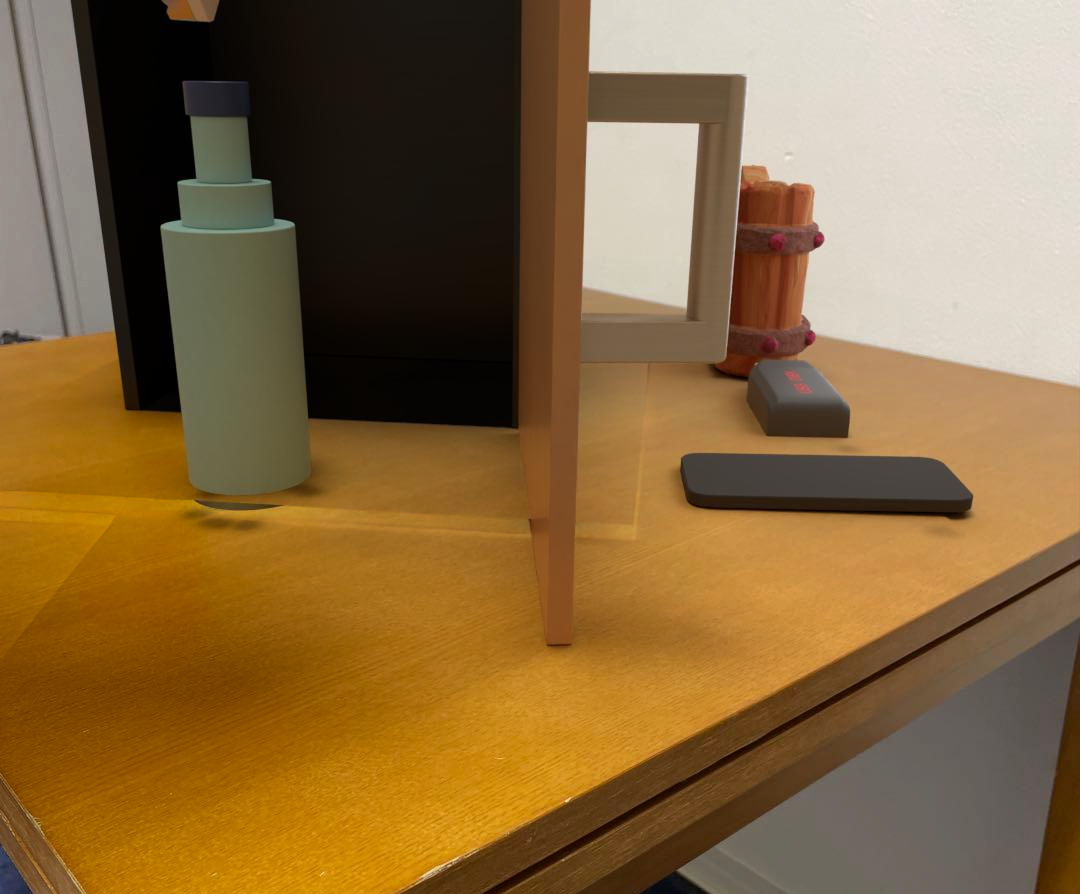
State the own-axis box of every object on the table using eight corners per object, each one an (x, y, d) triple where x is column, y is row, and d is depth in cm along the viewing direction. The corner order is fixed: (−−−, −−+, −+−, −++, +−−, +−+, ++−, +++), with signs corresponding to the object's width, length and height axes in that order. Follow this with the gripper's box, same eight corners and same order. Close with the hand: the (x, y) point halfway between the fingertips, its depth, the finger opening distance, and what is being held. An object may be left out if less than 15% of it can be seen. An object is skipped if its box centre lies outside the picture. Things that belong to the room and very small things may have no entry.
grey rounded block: (766, 437, 70) (770, 395, 69) (739, 389, 81) (742, 352, 80) (848, 439, 70) (853, 397, 69) (810, 391, 81) (814, 354, 80)
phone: (679, 451, 64) (938, 456, 63) (678, 465, 64) (936, 470, 64) (689, 495, 57) (980, 501, 57) (688, 510, 57) (977, 516, 57)
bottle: (172, 509, 57) (119, 79, 49) (216, 469, 62) (176, 80, 55) (293, 515, 56) (260, 82, 48) (326, 474, 62) (301, 82, 54)
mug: (820, 388, 82) (844, 176, 76) (711, 386, 82) (727, 175, 76) (779, 345, 95) (797, 163, 90) (686, 344, 95) (698, 162, 89)
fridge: (527, 444, 68) (534, -159, 56) (127, 424, 70) (49, -156, 58) (556, 374, 84) (566, -102, 72) (231, 360, 87) (187, -102, 75)
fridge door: (628, 444, 68) (657, -155, 55) (717, 642, 44) (802, -337, 31) (518, 445, 67) (523, -159, 55) (546, 645, 43) (566, -347, 31)
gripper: (246, -534, 28) (364, -52, 40) (-483, -509, 30) (-152, -57, 42) (193, -383, 25) (335, 78, 38) (-597, -367, 27) (-210, 66, 40)
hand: (74, 7), depth 40 cm, fingers open, 8 cm apart
